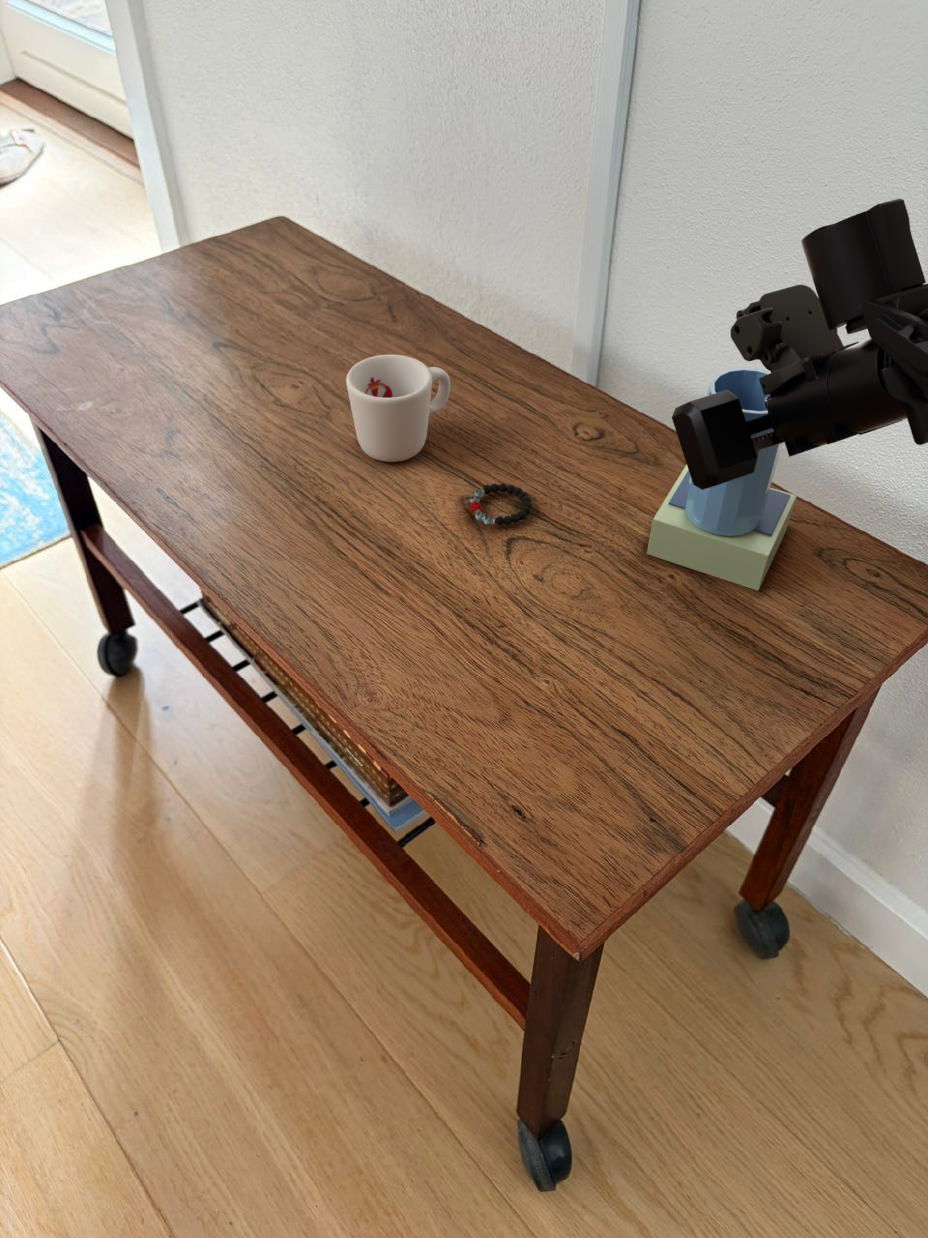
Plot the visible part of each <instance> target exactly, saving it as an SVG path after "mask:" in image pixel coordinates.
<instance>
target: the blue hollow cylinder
mask: <svg viewBox="0 0 928 1238" xmlns="http://www.w3.org/2000/svg"><path fill="white" fill-rule="evenodd" d="M770 373H771V371H768V370H767V371H766V370H763V369H759V368H751V367H737V368H728V369H725V370H723V371H721V372H718V373H716V374H715V375H714V376H713V377H712V378H711V380H710V381H709V382H708V388H707V392H706V396H709V395H712V394H715V393H719V392H722V391H725V390H728V391H730V392H731V393H732V394H734V395H735V396H736V397H737V398H739V401H740V404H741V407H742V410H743V413H744V416H745V420H746V422H747V421H750V420H753V419H756V418H759V417H762V416H765V415H768V410H767V409H766V407H765V403H764V399H765V398H767V397H769V396H770V395H769V394H768V395H764V394H763V391H762V388H761V384H760V381H759V378H761V377H763V376H765V375H768V374H770ZM770 432H772V433H773V432H774V430H773V428H772V429H769V430H766V431H763V432H760V433H757V434H754V435H751V438H752V439H753V438H756V437H758V436H759V437H760V436H762V435H765V434H767V433H770ZM782 446H783V443H781V444H778V445H775V446H772V447H769V448H766V449H763V450H761V451H760V452H759V457H758V460H757V462H756V466H755V470H754V473H751V474H748V475H745V476H742V477H739V478H737V479H734V480H731V481H728V482H725V483H722V484H719V485H716V486H713V487H710V488H707V489H704V490H701V489H700V488H698V487H696V486H695V485H693V482H692V479H691V476H690V481H689V486H688V490H687V495H686V503H685V511H686V514H687V516H688V518H689V519H690V521H691V522H692V523H694V524H695V525H696V526H697V527H699V528H701V529H703V530H705V531H707V532H710V533H713V534H717V535H723V536H737V535H742V534H746V533H748V532H750V531H752V530H754V529H755V528H756V527H757V526H758V524H759V523H760V520H761V517H762V515H763V512H764V509H765V505H766V501H767V498H768V494H769V490H770V488H772V487H771V486H772V483H773V479H774V475H775V472H776V469H777V465H778V461H779V457H780V453H781V450H782Z"/></svg>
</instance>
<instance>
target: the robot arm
mask: <svg viewBox="0 0 928 1238" xmlns="http://www.w3.org/2000/svg"><path fill="white" fill-rule="evenodd" d="M910 222H911V221H910V216H909V212H908V209H907V206H906V203H905V200H904V199H903V198H896V199H891V200H888V201H884V202H880V203H877V204H875V205H874V206H872V207H870V208H868V209H867V210H865V211H861V212H859V213H856V214H854V215H851V216H849V217H846V218H844V219H842V220H840V221H837V222H835V223H832V224H828V225H823V226H820V227H818V228H815V230H813V231H811V232H809V233H808V234H807V235H805V236H804V237H803V238H802V239H801V241H800V243H801V246H802V250H803V252H804V256H805V259H806V262H807V265H808V266H807V267H808V269H809V271H810V275H811V278H812V282H813V285H814V288H815V290H813V288H811V287H809V286H808V285H805V284H796V285H792V286H789V287H785V288H781V289H778V290H773V291H771V292H766V293H764V294H762V295H761V297H760V298H759V299H758V300H757V301H753V302H750V303H749V305H748V306H747V307H746V308H743V309H739V310H737V312H736V314H735V318H736V321H734V323H733V324H732V326H731V327H730V338H731V340H732V342H733V343H734V345H735V347H736V349H737V350H738V352H739V354H740V355H741V357H742V359H743V360H744V361H747V362H753V361H756V360H757V361H760V362H761V364H762V365H763V367H764V368H765V369H766V370H767V371H768V372H770V374H768V375H765V376H763V377H761V378H759V381H760V384H761V388H762V391H763V394H764V395H768V394H769V395H770V396H769V397H767V398H765V399H764V403H765V407H766V409H767V410H768V415H765V416H762V417H759V418H756V419H753V420H750V421H747V422H746V420H745V416H744V413H743V410H742V407H741V404H740V401H739V398H737V397H736V396H735V395H734V394H732V393H731V392H730V391H728V390H725V391H722V392H719V393H715V394H712V395H709V396H707V395H706V396H703V397H699V398H697V399H693V400H690V401H687V402H686V403H682V404H681V405H679V406H677V407H675V409H674V411H673V413H672V416H671V420H672V423H673V427H674V429H675V432H676V435H677V439H678V441H679V445H680V448H681V451H682V454H683V457H684V460H685V463H686V464H687V466H688V469H689V473H690V476H691V479H692V482H693V485H695V486H696V487H698V488H700V489H701V490H704V489H707V488H710V487H713V486H716V485H719V484H722V483H725V482H728V481H731V480H734V479H737V478H739V477H742V476H745V475H748V474H751V473H754V470H755V466H756V462H757V460H758V457H759V452H760V451H761V450H763V449H766V448H769V447H772V446H775V445H778V444H781V443H782V444H784V446H785V448H786V452H787V454H788V457H789V458H790V457H794V456H796V455H799V454H802V453H805V452H809V451H811V450H814V449H816V448H820V447H822V446H825V445H831V444H835V443H837V442H838V443H839V442H840V441H841V442H842V441H844V440H846V439H849V438H852V437H855V436H857V435H859V436H862V435H866V434H869V433H871V432H874V431H877V430H879V429H880V430H881V429H883V428H886V427H888V426H891V425H894V424H897V423H900V422H903V421H904V420H907V422H908V426H909V429H910V432H911V435H912V439H913V442H914V443H915V444H916V445H917V446H922V445H926V444H928V282H927V281H926V277H925V274H924V271H923V268H922V265H921V261H920V258H919V255H918V252H917V248H916V244H915V242H914V238H913V234H912V231H911V223H910ZM842 327H844V328H845V330H846V334H847V335H851V334H852V335H853V334H856V333H858V332H862V331H865V330H867V332H868V335H869V338H867V339H865V340H863V341H856V342H852V343H849V344H846V345H844V344H843V342H842V340H841V337H840V336H839V334H838V329H839V328H842ZM772 428H773V430H774V432H773V433H772V432H770V433H767V434H765V435H762V436H760V437H759V436H758V437H756V438H753V439H752V438H751V435H754V434H757V433H760V432H763V431H766V430H769V429H772Z"/></svg>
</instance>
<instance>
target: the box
mask: <svg viewBox="0 0 928 1238" xmlns="http://www.w3.org/2000/svg"><path fill="white" fill-rule="evenodd" d="M689 481H690V473H689V469H688V466H687V463H686V464H685V466H684V468H683V470H681V472H680V474H679V476H678V478H677V479H676V481H675V483H674V484H673V486H672V487H671V489H670V490H669V492H668V493H667V496H666V497H665V499H664V500H663V502H662V504H661V505H660V507H659V509H658V510H657V512H656V513H655V515H654V516H653V519H652V523H651V528H650V533H649V540H648V544H647V551H646V555H647V556H651V557H654V558H657V559H661V560H664V561H666V562H670V563H673V564H675V565H678V566H682V567H684V568H687V569H691V570H694V571H697V572H700V573H703V574H705V575H709V576H711V577H714V578H718V579H721V580H724V581H726V582H730V583H732V584H736V585H739V586H742V587H745V588H748V589H750V590H754V591H757V592H759V591H760V589H761V586H762V584H763V582H764V580H765V578H766V575H767V573H768V571H769V569H770V567H771V565H772V562H773V560H774V558H775V556H776V554H777V552H778V549H779V548H780V545H781V543H782V541H783V538H784V536H785V534H786V532H787V530H788V526H789V524H790V523H789V522H790V519H791V518H792V517H791V516H792V514H793V510H794V506H795V503H796V500H797V497H798V496H797V494H794V493H789V492H787V491H783V490H780V489H776V488H774V487H770V490H769V494H768V498H767V501H766V505H765V509H764V512H763V515H762V517H761V520H760V523H759V524H758V526H757V527H756V528H755V529H754V530H752V531H750V532H748V533H746V534H742V535H737V536H723V535H717V534H713V533H710V532H707V531H705V530H703V529H701V528H699V527H697V526H696V525H695V524H694V523H692V522H691V521H690V519H689V518H688V516H687V514H686V511H685V503H686V495H687V490H688V486H689Z"/></svg>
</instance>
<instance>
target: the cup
mask: <svg viewBox="0 0 928 1238" xmlns="http://www.w3.org/2000/svg"><path fill="white" fill-rule="evenodd" d="M436 380H438V390H437V393H436V396H435V397H434V398H433V399H432V400H431V398H432V388H433V383H434V382H435V381H436ZM345 384H346V389H347V394H348V398H349V404H350V408H351V415H352V419H353V424H354V428H355V433H356V438H357V442H358V444H359V447H360V448H361V449H362V451H363V452H364V454H366V455H367V456H369V457H370V458H372V459H374V460H376V461H380V462H386V463H397V462H403V461H407V460H409V459H411V458H414V457H415V456H416V455H417V454H419V453H420V452H421V451H422V449H423V447H424V446H425V444H426V440H427V435H428V427H429V417H430V416H431V415H432V414H436V413H438V412H439V411H440V410H442V409H443V408H444V407H445V406H446V404H447V402H448V400H449V397H450V394H451V379H450V376H449V374H448V373H447V372H446V370H444V369H442V368H440V367H437V366H429V367H428V366H427V365H426V364H425V363H423V362H422V361H420V360H418V359H416V358H414V357H411V356H407V355H403V354H379V355H374V356H369V357H367V358H364V359H361V360H360V361H358V362H357V363H355V364H354V365H353V366H352V367H351V368H350V369H349V371H348V372H347V375H346V380H345Z"/></svg>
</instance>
